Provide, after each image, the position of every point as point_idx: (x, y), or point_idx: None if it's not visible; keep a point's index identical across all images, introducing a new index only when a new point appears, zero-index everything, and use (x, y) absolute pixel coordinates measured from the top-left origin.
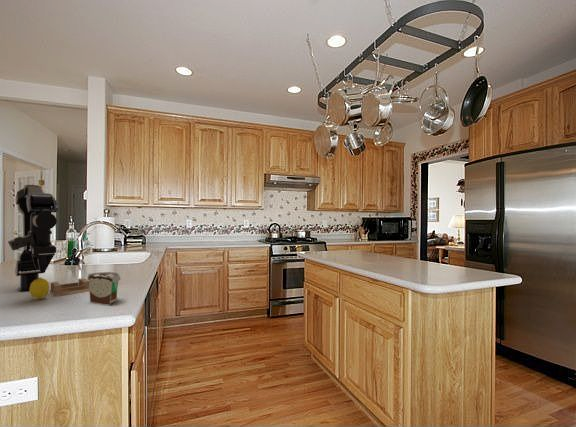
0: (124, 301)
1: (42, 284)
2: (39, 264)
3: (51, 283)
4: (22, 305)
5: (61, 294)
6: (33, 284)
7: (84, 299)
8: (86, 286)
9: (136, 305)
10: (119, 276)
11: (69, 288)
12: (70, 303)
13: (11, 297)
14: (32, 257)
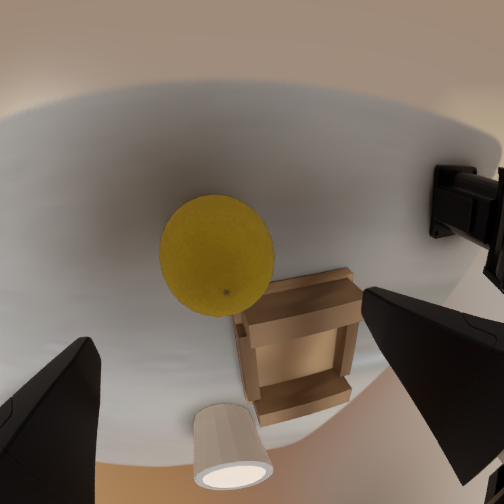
0: None
1: (167, 284)
2: (12, 400)
3: (348, 300)
4: (122, 158)
5: (233, 318)
6: (179, 232)
7: (101, 376)
8: (254, 403)
9: None
10: None
11: (242, 360)
12: (57, 335)
13: (359, 118)
14: (492, 329)
